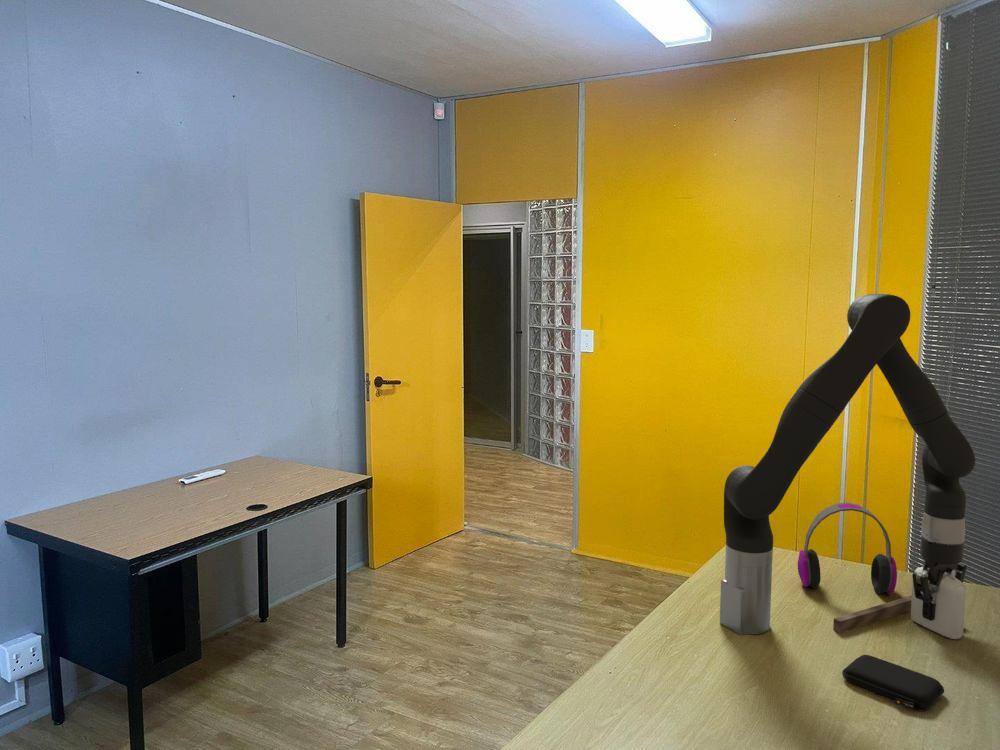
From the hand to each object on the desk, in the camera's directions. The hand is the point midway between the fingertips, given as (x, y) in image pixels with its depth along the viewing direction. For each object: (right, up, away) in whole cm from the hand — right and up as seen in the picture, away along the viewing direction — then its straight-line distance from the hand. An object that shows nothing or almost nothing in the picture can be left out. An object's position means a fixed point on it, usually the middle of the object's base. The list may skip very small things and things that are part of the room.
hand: (936, 615), depth 152 cm
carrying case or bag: (-21, -7, -21) cm, 30 cm away
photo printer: (0, -3, 0) cm, 3 cm away
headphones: (-9, 0, +20) cm, 22 cm away
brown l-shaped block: (-7, -3, +1) cm, 8 cm away
